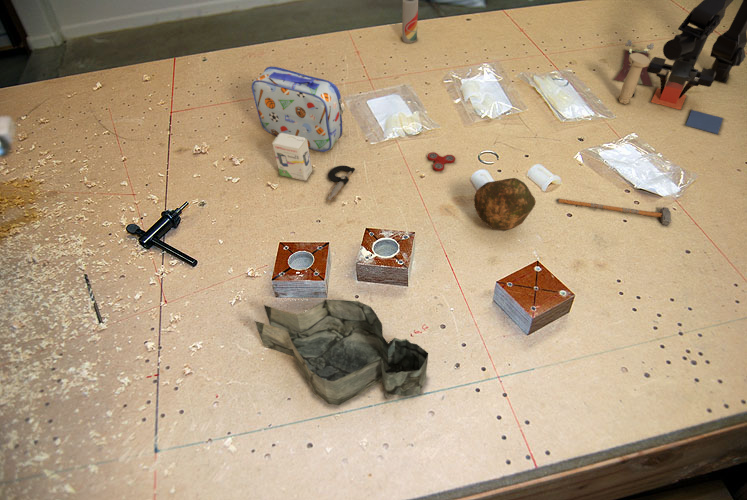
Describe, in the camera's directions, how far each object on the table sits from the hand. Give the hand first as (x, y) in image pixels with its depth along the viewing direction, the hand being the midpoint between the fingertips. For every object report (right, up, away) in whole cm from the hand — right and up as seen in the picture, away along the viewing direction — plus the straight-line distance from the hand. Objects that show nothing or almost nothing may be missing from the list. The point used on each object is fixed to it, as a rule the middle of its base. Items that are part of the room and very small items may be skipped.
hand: (670, 95), depth 169 cm
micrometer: (-107, -31, -22) cm, 114 cm away
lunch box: (-117, -16, -7) cm, 118 cm away
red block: (0, -1, +1) cm, 1 cm away
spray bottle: (-82, +31, +33) cm, 94 cm away
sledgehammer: (-33, -40, -32) cm, 61 cm away
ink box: (-118, -28, -18) cm, 123 cm away
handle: (-15, -2, +1) cm, 15 cm away
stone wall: (-102, -74, -60) cm, 139 cm away
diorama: (-5, +13, +14) cm, 19 cm away
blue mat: (+6, -11, -8) cm, 14 cm away
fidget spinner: (-76, -24, -17) cm, 81 cm away
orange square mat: (0, -1, +1) cm, 1 cm away
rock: (-63, -43, -34) cm, 84 cm away
